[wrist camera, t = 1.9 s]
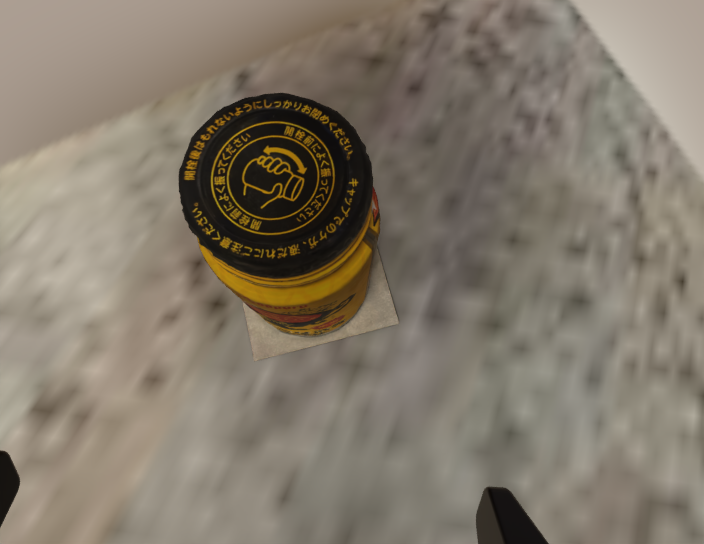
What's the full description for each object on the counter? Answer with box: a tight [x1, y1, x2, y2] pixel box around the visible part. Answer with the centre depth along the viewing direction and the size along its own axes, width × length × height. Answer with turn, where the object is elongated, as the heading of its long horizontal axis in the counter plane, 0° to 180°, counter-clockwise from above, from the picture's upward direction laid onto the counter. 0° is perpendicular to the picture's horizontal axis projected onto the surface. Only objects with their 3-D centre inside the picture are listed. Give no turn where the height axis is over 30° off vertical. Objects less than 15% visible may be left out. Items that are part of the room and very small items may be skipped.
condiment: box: [179, 93, 399, 361], centre depth 18 cm, size 7×8×12 cm
